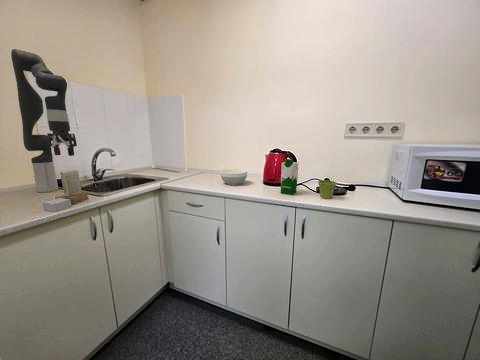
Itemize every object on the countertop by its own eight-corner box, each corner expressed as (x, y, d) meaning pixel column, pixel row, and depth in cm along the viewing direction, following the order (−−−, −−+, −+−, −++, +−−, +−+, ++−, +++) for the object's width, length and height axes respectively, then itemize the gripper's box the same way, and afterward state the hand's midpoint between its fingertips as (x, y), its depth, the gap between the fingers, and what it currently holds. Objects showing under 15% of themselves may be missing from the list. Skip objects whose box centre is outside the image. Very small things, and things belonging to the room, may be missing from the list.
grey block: (44, 210, 93) (42, 202, 92) (61, 205, 99) (59, 197, 98) (54, 212, 90) (52, 204, 90) (71, 207, 97) (70, 199, 96)
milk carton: (278, 193, 120) (280, 159, 115) (283, 190, 127) (285, 157, 123) (293, 196, 115) (295, 160, 111) (298, 192, 123) (300, 158, 119)
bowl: (236, 188, 132) (236, 174, 131) (214, 183, 144) (214, 171, 142) (252, 182, 147) (252, 170, 145) (231, 179, 158) (231, 168, 156)
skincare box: (78, 192, 108) (75, 169, 105) (82, 193, 106) (79, 170, 103) (63, 195, 103) (59, 171, 100) (66, 197, 100) (63, 172, 97)
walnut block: (56, 205, 101) (54, 197, 100) (72, 199, 109) (71, 192, 109) (73, 205, 100) (72, 197, 99) (88, 200, 109) (87, 192, 108)
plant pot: (328, 201, 106) (329, 184, 104) (313, 196, 114) (314, 181, 112) (339, 198, 111) (340, 182, 109) (323, 194, 119) (325, 179, 117)
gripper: (78, 121, 98) (83, 155, 101) (55, 121, 101) (61, 154, 105) (61, 120, 91) (67, 156, 94) (37, 120, 94) (44, 155, 98)
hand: (64, 155), depth 100 cm, fingers open, 8 cm apart
